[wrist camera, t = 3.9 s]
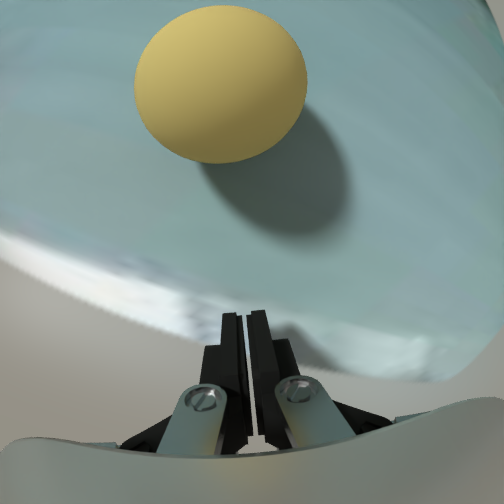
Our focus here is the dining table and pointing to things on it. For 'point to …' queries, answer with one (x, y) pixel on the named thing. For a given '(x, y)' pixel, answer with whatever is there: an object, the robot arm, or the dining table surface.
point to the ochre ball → (220, 84)
